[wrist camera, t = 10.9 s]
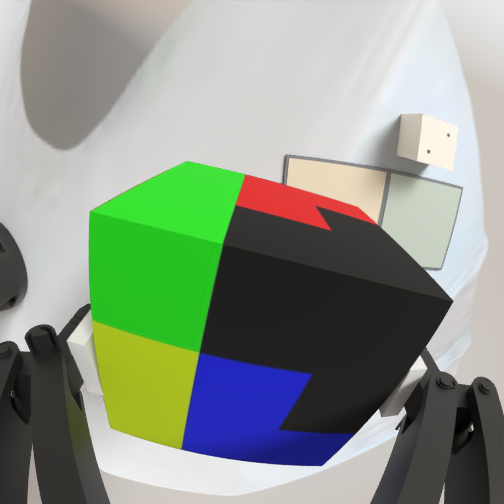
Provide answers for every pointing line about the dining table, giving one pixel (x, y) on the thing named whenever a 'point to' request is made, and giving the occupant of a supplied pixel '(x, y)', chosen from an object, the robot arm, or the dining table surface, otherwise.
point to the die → (427, 140)
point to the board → (387, 202)
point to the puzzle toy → (250, 315)
